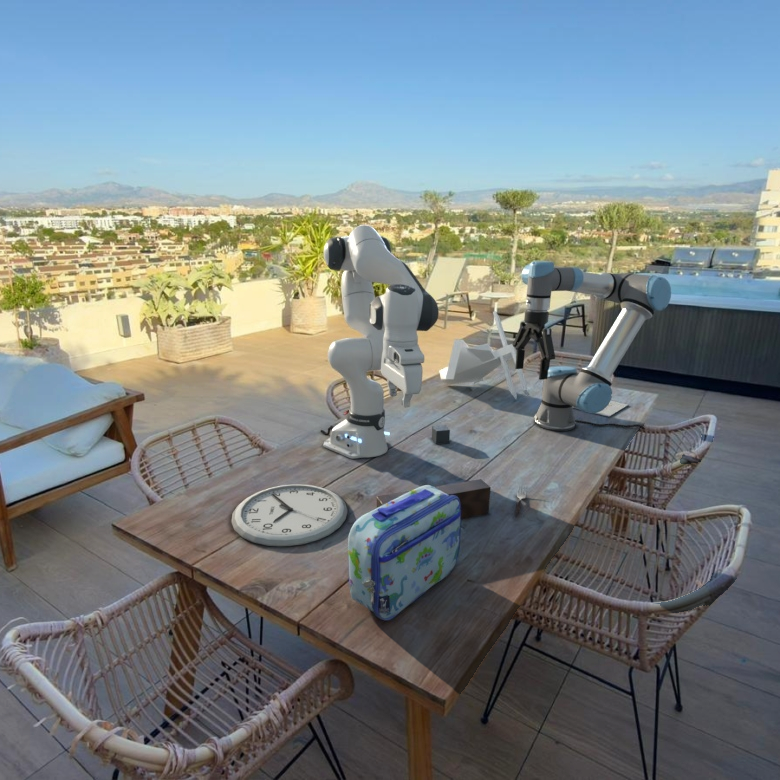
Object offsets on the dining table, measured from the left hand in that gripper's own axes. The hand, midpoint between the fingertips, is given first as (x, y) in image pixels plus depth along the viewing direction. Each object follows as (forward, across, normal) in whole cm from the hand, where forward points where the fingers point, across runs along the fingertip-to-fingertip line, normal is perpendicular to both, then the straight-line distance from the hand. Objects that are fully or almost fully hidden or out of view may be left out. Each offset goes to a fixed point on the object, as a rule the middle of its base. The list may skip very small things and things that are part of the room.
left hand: (399, 400), depth 138 cm
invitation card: (+29, -47, +113) cm, 125 cm away
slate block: (+29, -34, +30) cm, 54 cm away
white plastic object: (+29, -81, +72) cm, 112 cm away
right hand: (+2, -20, +55) cm, 59 cm away
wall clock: (+29, -2, -30) cm, 41 cm away
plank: (+29, +13, +6) cm, 32 cm away
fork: (+29, +14, +31) cm, 45 cm away
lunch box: (+29, +36, -12) cm, 48 cm away
